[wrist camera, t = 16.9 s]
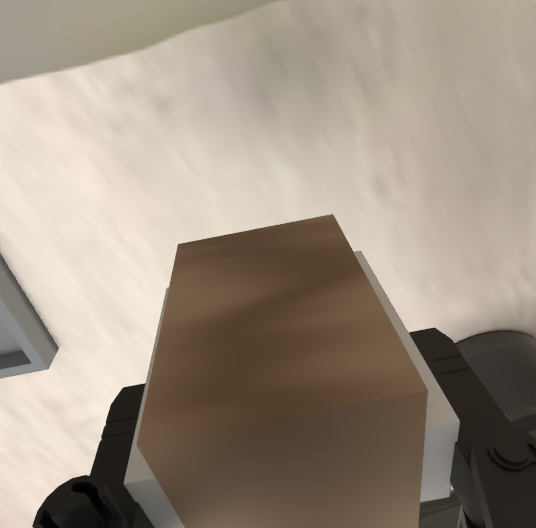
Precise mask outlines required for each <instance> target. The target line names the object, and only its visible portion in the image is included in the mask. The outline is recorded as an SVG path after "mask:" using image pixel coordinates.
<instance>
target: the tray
mask: <svg viewBox="0 0 536 528" xmlns="http://www.w3.org/2000/svg"><path fill="white" fill-rule="evenodd" d="M58 349H59V348H58V347H57V345H56V343H55V342H54V340H53V339H52V337H51V335H50V334H49V332H48V331H47V329H46V327H45V326H44V324H43V323H42V321H41V319H40V318H39V316H38V314H37V313H36V311H35V310H34V308H33V306H32V305H31V303H30V302H29V300H28V298H27V297H26V295H25V293H24V292H23V290H22V289H21V287H20V285H19V284H18V282H17V281H16V279H15V277H14V276H13V274H12V272H11V271H10V269H9V268H8V266H7V264H6V263H5V261H4V260H3V258H2V256H1V255H0V378H5V377H10V376H15V375H21V374H26V373H31V372H36V371H42V370H47V369H49V367H50V365H51V363H52V361H53V359H54V357H55V355H56V353H57V351H58Z"/></svg>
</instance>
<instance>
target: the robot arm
mask: <svg viewBox="0 0 536 528" xmlns="http://www.w3.org/2000/svg"><path fill="white" fill-rule="evenodd" d="M354 254H355V256H356V258H357V260H358V261H359V263H360V265H361V267H362V269H363V271H364V273H365V274H366V276H367V278H368V280H369V282H370V284H371V285H372V287H373V289H374V291H375V293H376V295H377V297H378V298H379V300H380V302H381V304H382V306H383V308H384V310H385V311H386V313H387V315H388V317H389V319H390V321H391V323H392V324H393V326H394V328H395V330H396V332H397V334H398V335H399V337H400V339H401V341H402V343H403V345H404V347H405V348H406V350H407V352H408V354H409V356H410V358H411V360H412V361H413V363H414V365H415V367H416V369H417V371H418V373H419V374H420V376H421V378H422V380H423V382H424V384H425V386H426V387H427V389H428V398H427V412H426V426H425V440H424V454H423V468H422V482H421V496H420V510H419V523H418V528H536V339H535V338H533V337H531V336H529V335H526V334H523V333H519V332H510V331H502V332H492V333H487V334H482V335H478V336H475V337H472V338H470V339H467V340H465V341H462V342H460V343H458V344H456V345H455V344H454V342H453V341H452V339H450V338H449V337H447V336H446V335H445V334H443V333H442V332H440V331H439V330H437V329H436V328H430V329H425V330H419V331H414V332H409V333H408V331H407V329H406V328H405V326H404V324H403V323H402V321H401V319H400V317H399V316H398V314H397V312H396V310H395V309H394V307H393V305H392V304H391V302H390V300H389V298H388V297H387V295H386V293H385V292H384V290H383V288H382V286H381V285H380V283H379V281H378V280H377V278H376V276H375V274H374V273H373V271H372V269H371V267H370V266H369V264H368V262H367V261H366V259H365V257H364V255H363V254H362V252H361V251H356V252H354ZM168 290H169V288H167V289H166V294H165V298H164V303H163V307H162V312H161V316H160V321H159V325H158V330H157V334H156V339H155V344H154V348H153V353H152V357H151V362H150V366H149V371H148V375H147V380H146V383H145V384H140V385H134V386H129V387H124V388H122V390H121V391H120V393H119V394H118V395H117V397H116V398H115V400H114V401H113V402H112V404H111V406H110V410H109V413H108V416H107V420H106V426H104V430H103V433H102V436H101V438H102V440H101V441H100V443H99V446H98V450H97V453H96V456H95V460H94V463H93V467H92V470H91V473H90V476H87V475H84V476H80V477H76V478H72V479H70V480H69V481H67V482H65V483H63V484H62V485H60V486H58V487H57V488H56V489H55V490H54V491H53V492H52V493H51V494H50V495H49V496H48V497H47V498H46V499H45V501H44V502H43V504H42V505H41V507H40V508H39V510H38V511H37V514H36V517H35V520H34V523H33V526H32V527H33V528H185V527H184V525H183V524H182V522H181V520H180V518H179V517H178V515H177V513H176V512H175V510H174V508H173V506H172V505H171V503H170V501H169V500H168V498H167V496H166V495H165V493H164V491H163V489H162V488H161V486H160V484H159V483H158V481H157V479H156V477H155V476H154V474H153V472H152V471H151V469H150V467H149V466H148V464H147V462H146V460H145V459H144V457H143V455H142V454H141V452H140V450H139V449H138V447H137V445H136V444H137V439H138V435H139V430H140V425H141V420H142V415H143V411H144V406H145V401H146V396H147V391H148V387H149V382H150V377H151V372H152V367H153V363H154V358H155V353H156V348H157V343H158V339H159V334H160V329H161V324H162V319H163V315H164V310H165V305H166V300H167V295H168ZM451 485H452V487H453V489H454V490H451V491H450V489H451Z"/></svg>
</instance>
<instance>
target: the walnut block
mask: <svg viewBox="0 0 536 528" xmlns="http://www.w3.org/2000/svg"><path fill="white" fill-rule="evenodd" d="M427 398H428V389H427V387H426V386H425V384H424V382H423V380H422V378H421V376H420V374H419V373H418V371H417V369H416V367H415V365H414V363H413V361H412V360H411V358H410V356H409V354H408V352H407V350H406V348H405V347H404V345H403V343H402V341H401V339H400V337H399V335H398V334H397V332H396V330H395V328H394V326H393V324H392V323H391V321H390V319H389V317H388V315H387V313H386V311H385V310H384V308H383V306H382V304H381V302H380V300H379V298H378V297H377V295H376V293H375V291H374V289H373V287H372V285H371V284H370V282H369V280H368V278H367V276H366V274H365V273H364V271H363V269H362V267H361V265H360V263H359V261H358V260H357V258H356V256H355V254H354V252H353V250H352V248H351V247H350V245H349V243H348V241H347V239H346V237H345V235H344V234H343V232H342V230H341V228H340V226H339V224H338V222H337V221H336V219H335V217H334V215H333V214H331V215H326V216H321V217H316V218H311V219H306V220H300V221H295V222H290V223H285V224H280V225H275V226H269V227H264V228H259V229H254V230H249V231H244V232H239V233H233V234H228V235H223V236H218V237H213V238H208V239H203V240H197V241H192V242H187V243H182V244H178V247H177V252H176V257H175V262H174V266H173V271H172V276H171V281H170V286H169V290H168V295H167V300H166V305H165V310H164V315H163V319H162V324H161V329H160V334H159V339H158V343H157V348H156V353H155V358H154V363H153V367H152V372H151V377H150V382H149V387H148V391H147V396H146V401H145V406H144V411H143V415H142V420H141V425H140V430H139V435H138V439H137V444H136V445H137V447H138V449H139V450H140V452H141V454H142V455H143V457H144V459H145V460H146V462H147V464H148V466H149V467H150V469H151V471H152V472H153V474H154V476H155V477H156V479H157V481H158V483H159V484H160V486H161V488H162V489H163V491H164V493H165V495H166V496H167V498H168V500H169V501H170V503H171V505H172V506H173V508H174V510H175V512H176V513H177V515H178V517H179V518H180V520H181V522H182V524H183V525H184V527H185V528H418V523H419V510H420V496H421V482H422V468H423V454H424V440H425V426H426V412H427Z"/></svg>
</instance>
